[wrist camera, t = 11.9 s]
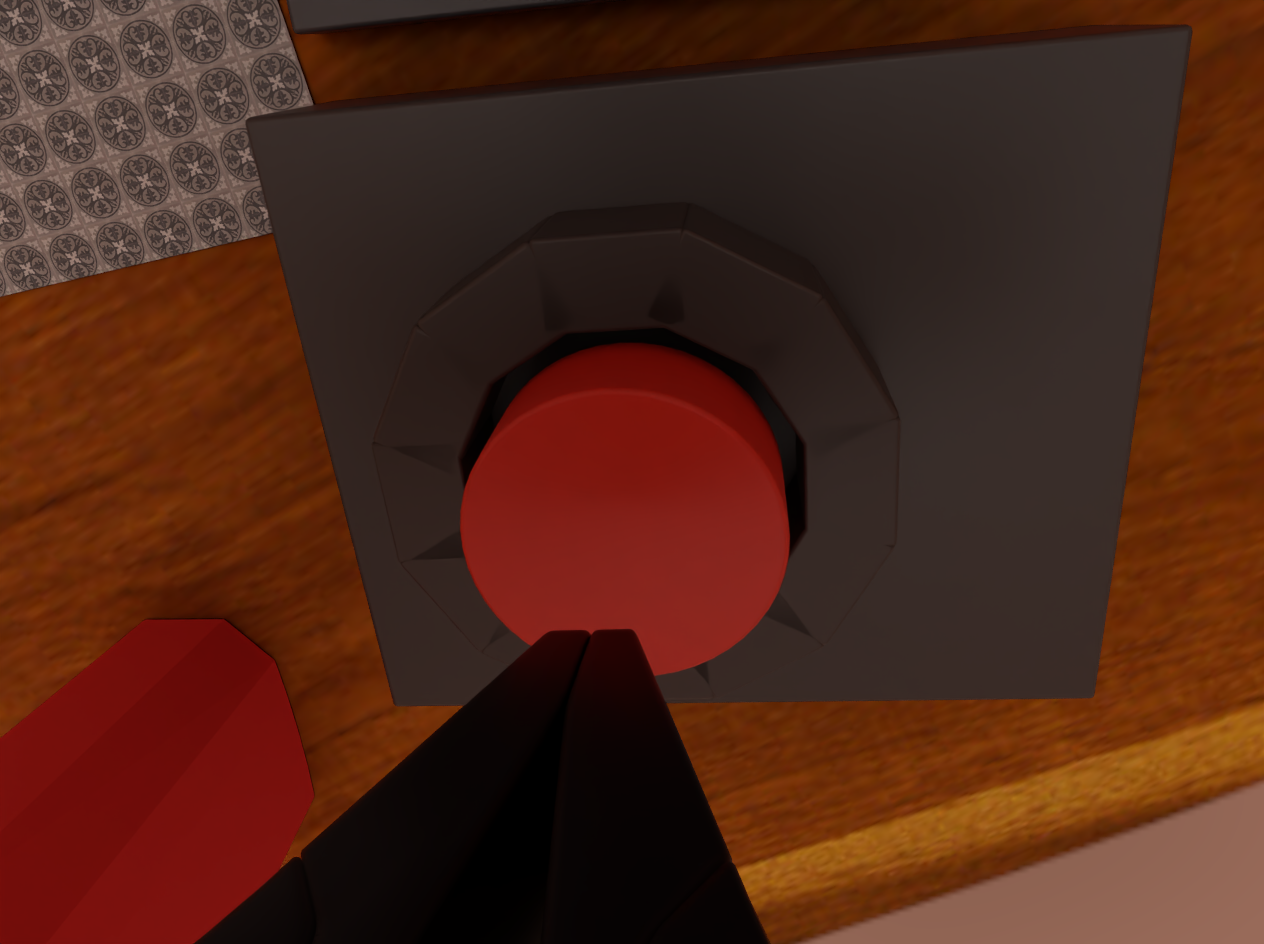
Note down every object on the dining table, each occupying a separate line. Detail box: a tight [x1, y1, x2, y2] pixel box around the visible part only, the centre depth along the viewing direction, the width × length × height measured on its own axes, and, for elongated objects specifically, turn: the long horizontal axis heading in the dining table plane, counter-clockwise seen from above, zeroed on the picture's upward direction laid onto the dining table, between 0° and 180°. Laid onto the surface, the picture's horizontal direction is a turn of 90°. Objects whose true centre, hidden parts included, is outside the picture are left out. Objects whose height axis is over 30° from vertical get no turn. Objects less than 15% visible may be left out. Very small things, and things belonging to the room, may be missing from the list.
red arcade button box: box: [245, 25, 1192, 706], centre depth 14 cm, size 12×10×5 cm
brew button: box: [460, 343, 790, 676], centre depth 12 cm, size 4×4×2 cm
